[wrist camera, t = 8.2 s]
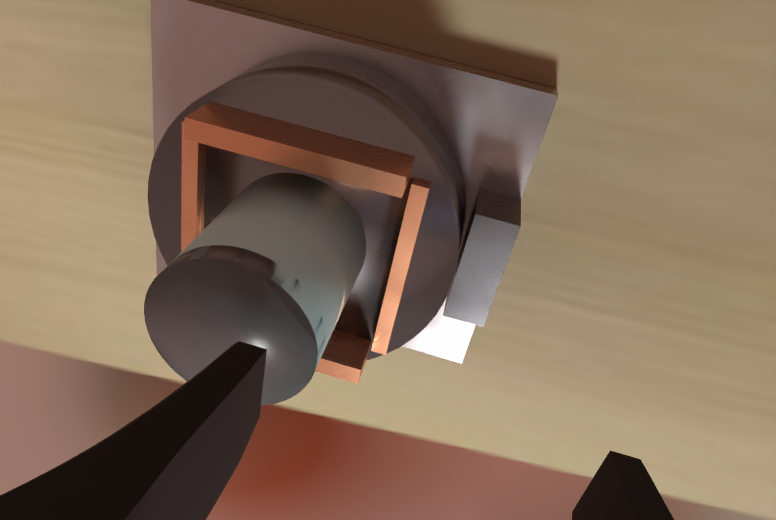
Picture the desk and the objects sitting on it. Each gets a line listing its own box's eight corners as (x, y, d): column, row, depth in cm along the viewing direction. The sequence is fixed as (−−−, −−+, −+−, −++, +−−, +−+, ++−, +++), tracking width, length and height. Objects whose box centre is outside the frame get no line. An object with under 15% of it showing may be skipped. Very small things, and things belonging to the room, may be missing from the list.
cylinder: (378, 195, 17) (330, 289, 13) (353, 312, 19) (305, 425, 15) (235, 155, 17) (141, 235, 13) (227, 276, 20) (146, 376, 15)
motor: (556, 88, 18) (567, 147, 14) (463, 350, 24) (449, 450, 20) (163, -13, 19) (52, 12, 14) (166, 265, 25) (88, 342, 20)
